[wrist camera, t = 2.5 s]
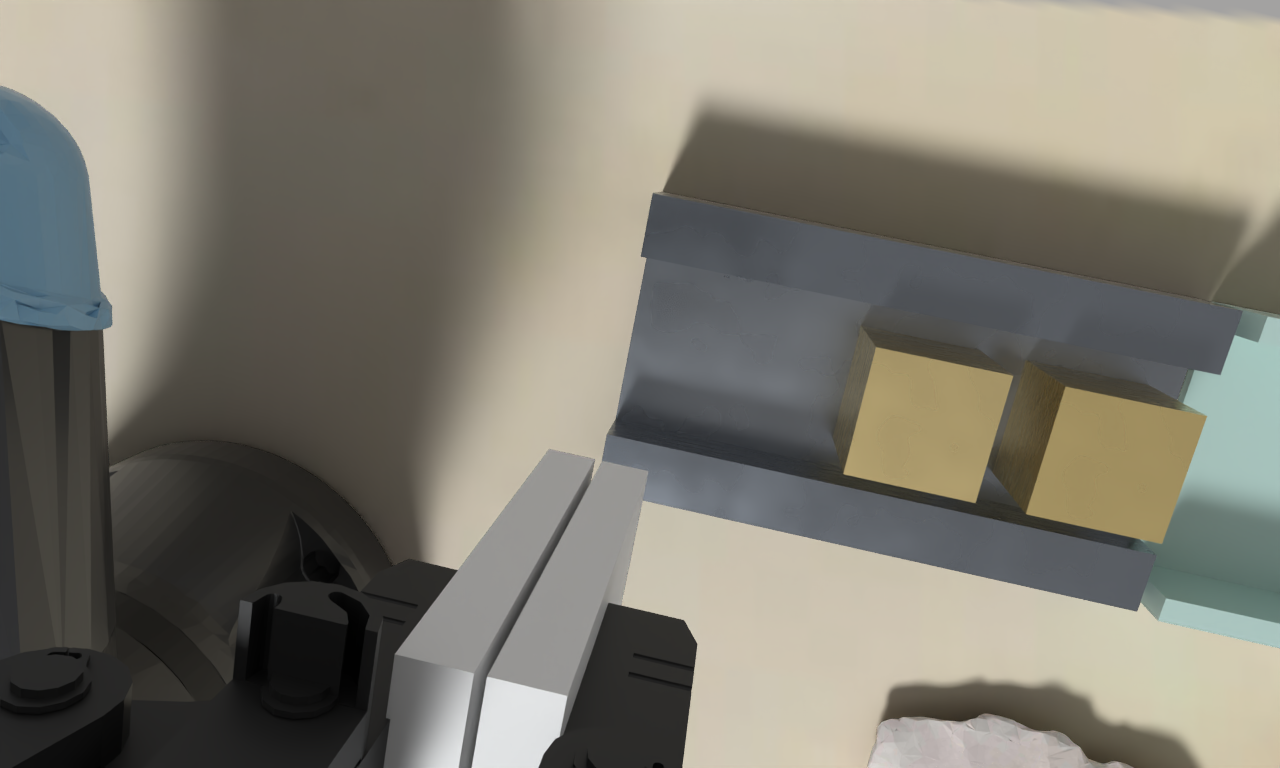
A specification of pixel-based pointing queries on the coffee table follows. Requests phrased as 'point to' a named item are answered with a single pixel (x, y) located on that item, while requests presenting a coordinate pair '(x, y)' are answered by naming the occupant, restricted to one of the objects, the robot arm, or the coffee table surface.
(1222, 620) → the tray
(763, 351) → the slot board
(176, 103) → the coffee table surface
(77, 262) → the robot arm
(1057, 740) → the stone tool
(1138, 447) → the chip
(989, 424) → the chip
